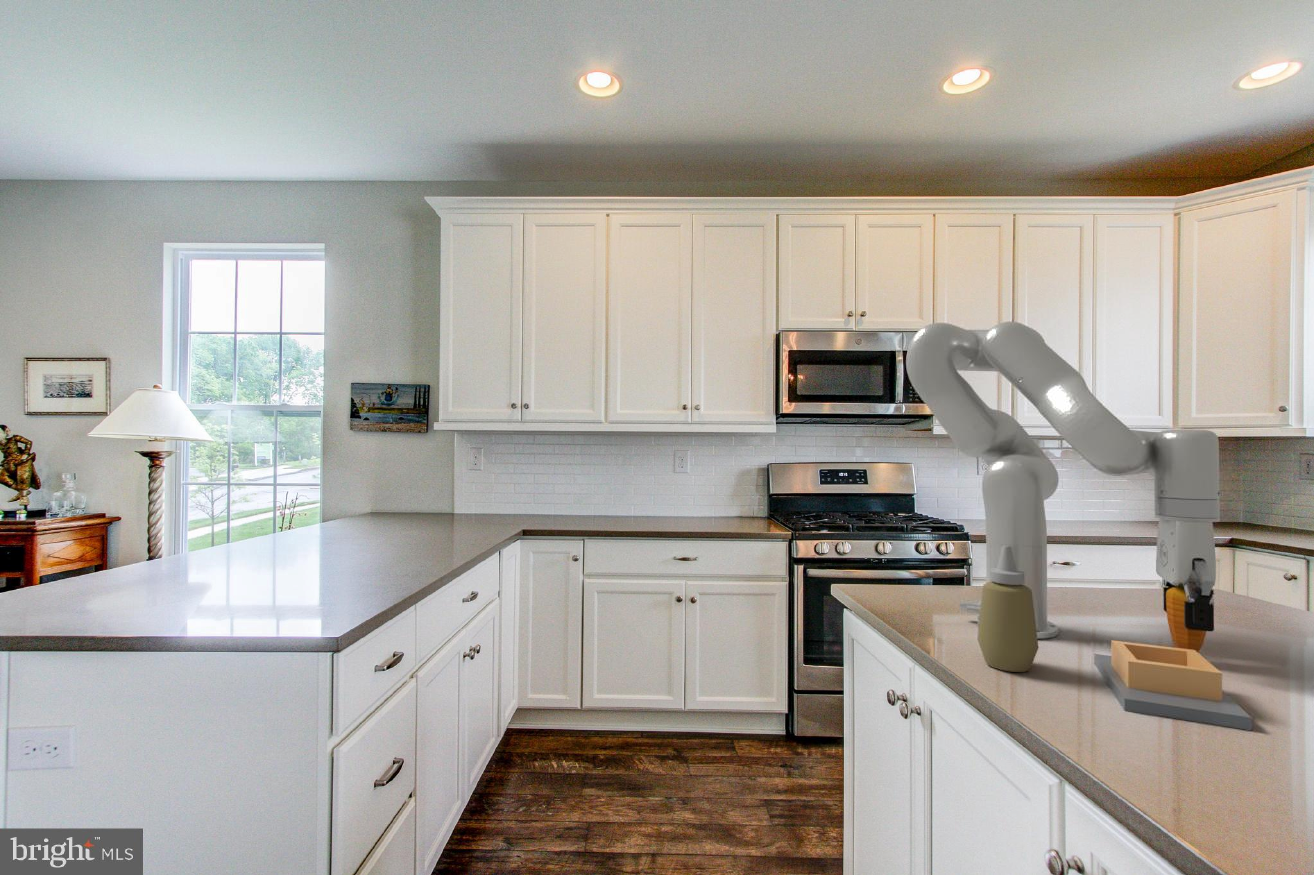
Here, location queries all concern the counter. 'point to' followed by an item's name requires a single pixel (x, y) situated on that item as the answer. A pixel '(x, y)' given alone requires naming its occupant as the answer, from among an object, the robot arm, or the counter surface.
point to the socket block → (1169, 684)
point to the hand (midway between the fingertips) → (1187, 621)
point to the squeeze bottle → (1007, 618)
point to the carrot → (1181, 621)
